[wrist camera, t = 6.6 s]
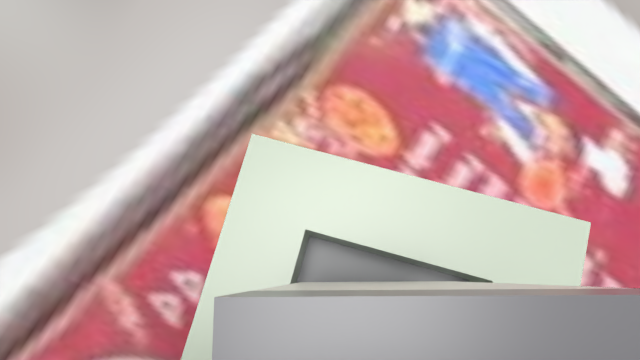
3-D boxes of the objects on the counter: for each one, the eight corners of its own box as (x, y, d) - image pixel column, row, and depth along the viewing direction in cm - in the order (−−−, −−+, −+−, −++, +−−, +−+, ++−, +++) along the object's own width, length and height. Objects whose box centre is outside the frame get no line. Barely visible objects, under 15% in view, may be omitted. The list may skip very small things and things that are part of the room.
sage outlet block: (484, 547, 19) (523, 618, 15) (177, 448, 20) (139, 492, 16) (543, 232, 21) (590, 222, 17) (266, 158, 22) (251, 133, 18)
